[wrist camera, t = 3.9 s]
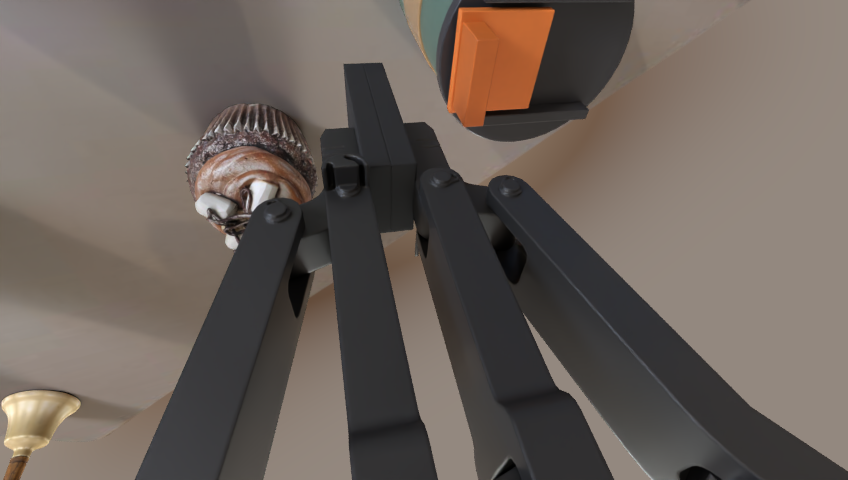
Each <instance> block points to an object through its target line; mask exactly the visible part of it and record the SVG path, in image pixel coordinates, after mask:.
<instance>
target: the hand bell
mask: <svg viewBox="0 0 848 480" xmlns="http://www.w3.org/2000/svg"><path fill="white" fill-rule="evenodd" d="M1 405H2V409H3V411H4V412H5V413H6V414H7V417H8V429H7V433H6V437H5V440H4V445H5V446H6V447H8V448H10V449H12V450H13V451H14V454H13V456H12V458H11V460H10V464H9V466H8V468H7V471H6V474H5V476H4V479H3V480H20V477H21V475H22V473H23V471H24V468H25V466H26V463H27V462H28V460H29V457H30V455H31V453H32V451H34V450H36V449H39V448H42V447H45V446H46V445H47V444H48V443H49V441H50V440H51V438H52V436H53V434H54V432H55V431H56V429H57V427H58V426H59V425H60V423H61V422H62V421H63V420H64V419H65V418H66V417H68V416H69V415H71V414H73V413H74V412H76V411H77V410H78V409H79V407H80V405H81V403H80V401H79V400H78V399H77V398H76V397H74V396H72V395H69V394H67V393H63V392H57V391H47V390H32V391H23V392H18V393H15V394H11V395H9V396H7V397H5V398H4V399H3V401H2V403H1Z"/></svg>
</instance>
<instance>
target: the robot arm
mask: <svg viewBox="0 0 848 480" xmlns="http://www.w3.org/2000/svg"><path fill="white" fill-rule="evenodd" d="M344 76H345V88H346V101H347V113H348V126H349V128H339V129H325V131H324V133H323V134H322V136H321V138H320V141H321V151H322V162H323V163H322V167H321V170H322V177H323V184H324V189H323V191H322V192H321V194H320V195H319V196H317V197H316V198H314V199H313V200H311V201H308V202H306V203H303V204H300V205H299V203H298V202H296V201H294V200H292V199H289V198H284V197H282V198H272V199H269V200H266V201H264V202H262V203H261V204H259V205H258V206H257V207H256V208H255V209H254V211H253V212H252V215H251V217H250V219H249V221H248V224H247V226H246V228H245V230H244V233H243V235H242V237H241V239H240V242H239V244H238V246H237V249H236V251H235V253H234V255H233V258H232V260H231V262H230V264H229V267H228V269H227V271H226V274H225V276H224V278H223V280H222V283H221V285H220V287H219V289H218V292H217V294H216V296H215V299H214V301H213V303H212V305H211V308H210V310H209V312H208V314H207V317H206V319H205V321H204V324H203V326H202V328H201V330H200V333H199V335H198V337H197V339H196V342H195V344H194V346H193V349H192V351H191V353H190V355H189V358H188V360H187V362H186V364H185V367H184V369H183V371H182V374H181V376H180V378H179V380H178V383H177V385H176V387H175V389H174V392H173V394H172V397H171V399H170V401H169V403H168V405H167V408H166V410H165V412H164V414H163V417H162V419H161V421H160V424H159V426H158V428H157V430H156V433H155V435H154V437H153V440H152V442H151V444H150V446H149V449H148V451H147V453H146V455H145V458H144V460H143V463H142V465H141V467H140V469H139V471H138V474H137V476H136V479H135V480H263V478H264V474H265V470H266V466H267V462H268V458H269V454H270V450H271V446H272V442H273V438H274V434H275V430H276V426H277V422H278V418H279V414H280V410H281V406H282V402H283V398H284V394H285V390H286V386H287V382H288V378H289V374H290V370H291V366H292V362H293V358H294V354H295V350H296V346H297V342H298V338H299V334H300V330H301V326H302V322H303V318H304V314H305V310H306V306H307V302H308V298H309V294H310V290H311V286H312V282H313V278H314V271H315V270H317V269H320V268H322V267H325V266H327V265H329V264H332V270H333V280H334V290H335V300H336V309H337V320H338V330H339V340H340V350H341V360H342V370H343V380H344V390H345V400H346V410H347V421H348V432H349V451H350V463H351V474H352V480H438V478H437V473H436V469H435V464H434V460H433V455H432V451H431V446H430V442H429V438H428V434H427V431H426V428H425V425H424V423H423V422H422V420H421V418H420V415H419V411H418V407H417V402H416V397H415V393H414V388H413V384H412V379H411V375H410V370H409V365H408V360H407V356H406V351H405V346H404V342H403V338H402V332H401V328H400V323H399V319H398V314H397V310H396V305H395V300H394V295H393V291H392V286H391V281H390V277H389V272H388V268H387V263H386V258H385V254H384V249H383V244H382V240H381V235H380V233H386V232H395V231H404V230H412V229H413V222H414V221H415V224H416V228H417V231H416V244H415V256H418V254H419V252H420V256H421V260H422V263H423V266H424V270H425V274H426V277H427V281H428V284H429V288H430V291H431V295H432V298H433V302H434V305H435V309H436V312H437V316H438V319H439V323H440V326H441V330H442V333H443V337H444V340H445V344H446V348H447V351H448V354H449V358H450V361H451V365H452V369H453V372H454V375H455V379H456V383H457V386H458V390H459V393H460V397H461V400H462V404H463V407H464V411H465V414H466V418H467V421H468V425H469V429H470V432H471V436H472V439H473V445H474V458H475V466H476V471H477V476H478V480H614V478H613V476H612V474H611V472H610V470H609V468H608V466H607V464H606V461H605V459H604V457H603V455H602V453H601V451H600V449H599V447H598V444H597V442H596V440H595V438H594V436H593V434H592V432H591V430H590V428H589V425H588V423H587V421H586V419H585V417H584V415H583V413H582V411H581V409H580V407H579V406H578V404H577V402H576V400H575V399H574V398H573V397H572V396H571V395H570V394H569V393H566V392H564V391H562V390H559V389H558V387H557V386H556V385H555V383H554V381H553V379H552V377H551V375H550V373H549V370H548V368H547V366H546V364H545V362H544V359H543V357H542V355H541V353H540V350H539V348H538V346H537V344H536V341H535V339H534V337H533V335H532V333H531V330H530V328H529V326H528V324H527V321H526V319H525V317H524V315H525V316H526V317H527V319H528V320H529V321H530V323H531V324H532V325H533V327H535V329H536V331H537V332H538V333H539V334H540V336H541V337H542V338H543V340H544V341H545V342H546V344H547V345H548V346H549V348H550V349H551V350H552V352H553V353H554V354H555V356H556V357H557V358H558V360H559V361H560V362H561V364H562V365H563V366H564V368H565V369H566V370H567V372H568V373H569V374H570V376H571V377H572V378H573V380H574V381H575V382H576V384H577V385H578V386H579V388H580V389H581V390H582V392H583V393H584V394H585V396H586V397H587V398H588V400H590V402H591V404H592V405H593V406H594V408H595V409H596V410H597V412H598V413H599V414H600V415H601V417H602V418H603V419H604V421H605V422H606V423H607V425H608V426H609V428H610V429H611V430H612V432H613V433H614V434H615V435H616V437H617V438H618V439H619V441H620V442H621V443H622V445H623V446H624V447H625V449H626V450H627V451H628V453H629V454H630V455H631V456H632V457H633V459H634V460H635V461H636V462H637V464H638V465H639V466H640V467H641V468H642V470H643V471H644V472H645V473H646V474H647V475H648V476H649V477H650V478H651V479H652V480H848V471H846V470H845V469H843V468H842V467H840V466H839V465H837V464H836V463H834V462H832V461H831V460H830V459H828V458H827V457H825V456H824V455H822V454H821V453H819V452H818V451H816V450H815V449H813V448H812V447H810V446H809V445H807V444H806V443H804V442H803V441H801V440H800V439H798V438H797V437H795V436H794V435H792V434H791V433H789V432H788V431H786V430H785V429H783V428H782V427H780V426H779V425H777V424H776V423H774V422H773V421H771V420H770V419H768V418H767V417H765V416H764V415H762V414H761V413H759V412H758V411H756V410H755V409H753V408H752V407H750V406H749V405H748V404H747V403H746V402H745V401H744V400H743V399H742V398H741V397H740V396H739V395H738V394H737V393H736V392H735V391H734V390H733V389H732V388H731V387H730V386H729V385H728V384H727V383H726V382H725V381H724V380H723V379H722V378H721V377H720V376H719V375H718V374H717V373H716V372H715V371H714V370H713V369H712V368H711V367H710V366H709V365H708V364H707V363H706V362H705V361H704V360H703V359H702V358H701V357H700V356H699V355H698V354H697V353H696V352H695V351H694V350H693V349H692V348H691V347H690V346H689V345H688V344H687V343H686V342H685V341H684V340H683V339H682V338H681V337H680V336H679V335H678V334H677V333H676V332H675V331H674V330H673V329H672V328H671V327H670V326H669V325H668V324H667V323H666V322H665V321H664V320H663V319H662V318H661V317H660V316H659V315H658V314H657V313H656V312H655V311H654V310H653V309H652V308H651V307H650V306H649V305H648V304H647V303H646V302H645V301H644V300H643V299H642V298H641V297H640V296H639V295H638V294H637V293H636V292H635V291H634V290H633V289H632V288H631V287H630V286H629V285H628V284H627V283H626V282H625V281H624V280H623V279H622V278H621V277H620V276H619V275H618V274H617V273H616V272H615V271H614V270H613V269H612V268H611V267H610V266H609V265H608V264H607V263H606V262H605V261H604V260H603V259H602V258H601V257H600V256H599V255H598V254H597V253H596V252H595V251H594V250H593V249H592V248H591V247H590V246H589V245H588V244H587V243H586V242H585V241H584V240H583V239H582V238H581V237H580V236H579V235H578V234H577V233H576V232H575V231H574V230H573V229H572V228H571V227H570V226H569V225H568V224H567V223H566V222H565V221H564V220H563V219H562V218H561V217H560V216H559V215H558V214H557V213H556V212H555V211H554V210H553V209H552V208H551V207H550V206H549V205H548V204H547V203H546V202H545V201H544V200H543V199H542V198H541V197H540V196H539V195H538V194H537V193H536V192H535V191H534V190H533V189H532V188H531V187H530V186H529V185H528V184H527V183H526V182H524V181H523V180H522V179H520V178H517V177H514V176H508V175H503V176H497V177H495V178H493V179H492V180H491V181H490V183H489V185H488V187H487V186H480V185H473V184H468V183H466V182H464V181H463V179H462V177H461V176H460V175H459V173H457V172H455V171H454V170H452V169H450V167H449V165H448V163H447V160H446V158H445V156H444V153H443V151H442V149H441V147H440V144H439V142H438V140H437V137H436V135H435V133H434V130H433V129H432V128H431V127H430V126H428V125H427V124H426V123H425V122H417V123H403V121H402V118H401V115H400V112H399V109H398V106H397V104H396V101H395V98H394V95H393V92H392V89H391V87H390V84H389V81H388V78H387V75H386V72H385V69H384V67H383V64H382V63H361V64H344ZM523 313H524V315H523Z"/></svg>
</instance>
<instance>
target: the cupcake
mask: <svg viewBox="0 0 848 480" xmlns="http://www.w3.org/2000/svg"><path fill="white" fill-rule="evenodd" d="M187 160H189V162H188V163H187V164H186V165H185V167H187V170H186V172H185V173H186V174H187V175H188V180H187V182H189V185H190V186H189V187H190V191H191V193H192V195H193V198H194V200H195V202H196V203H195V207H196V210H197V212H198V213H199V214H201V215H203V216H205V217H206V220H208V221H209V222H210V223H211V224H212V225H213V226H214V227H215V228H216V229H217V230H219V231H220V232H222V233H223V234H225V235H226V240H225V243H226V244H227V246H228V248H231V249H234V250H233V251H234V253H235V251H236V249H237V246H238V244H239V242H240V239H241V237H242V235H243V233H244V230H245V228H246V226H247V224H248V221H249V219H250V217H251V215H252V212H253V211H254V209H255V208H256V207H257V206H258V205H259V204H261V203H262V202H264V201H266V200H269V199H272V198H282V197H284V198H289V199H292V200H294V201H296V202H298V203H299V205H300V204H303V203H306V202H308V201H311V200H312V198H313V197H312V196H313V194H314V192H315V186H317V182H316V181H317V180H318V177H317V175H316V167H315V164H314V160H313V158H312V155H311V153H310V150H309V147H308V145H307V142H306V140H305V137H304V136H303V135H302V133H301V131H300V129H299V128H298V126H297V124H296V123H295V122H294V121H293V120H292V119H291V118H289V117H288V116H287V115H286V114H284V113H283V112H282V111H279V110H277V109H274V108H272V107H270V106H268V105H262V104H259V103H257V104H246V103H242V104H236V105H233V106H230V107H228V108H226V109H225V110H224V111H223V112H222V113H219V114H218V115H217V116H216V117H214V119H213V120H212V122H211V123H210V125H209V127H208V128H207V130H206V131H205V133H204V134H203V136H202V137H201V138H200V139H199V141H198V142H197V143H196V144H195V146H194V147H193V148H192V150H191V154H190V155H189V156H188V157H187Z"/></svg>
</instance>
